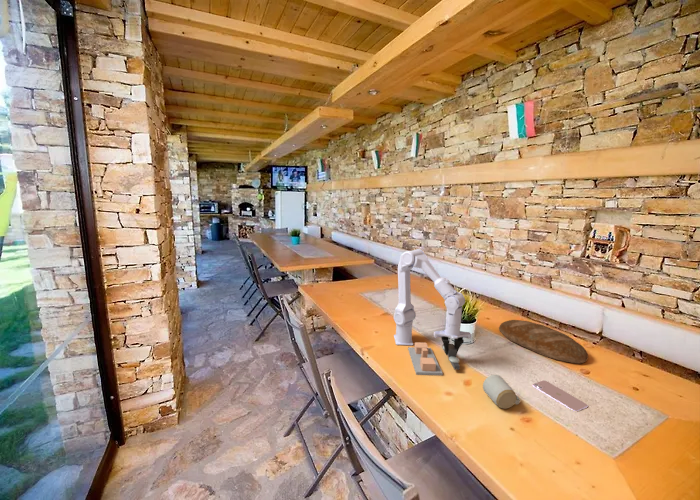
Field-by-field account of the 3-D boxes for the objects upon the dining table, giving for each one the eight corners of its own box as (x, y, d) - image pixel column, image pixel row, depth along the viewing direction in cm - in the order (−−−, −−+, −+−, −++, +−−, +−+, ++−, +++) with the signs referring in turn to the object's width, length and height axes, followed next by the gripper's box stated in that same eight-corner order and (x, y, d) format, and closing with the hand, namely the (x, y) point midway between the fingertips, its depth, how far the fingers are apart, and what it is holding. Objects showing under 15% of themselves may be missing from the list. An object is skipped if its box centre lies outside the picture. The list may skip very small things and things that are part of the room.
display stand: (408, 349, 131) (408, 338, 130) (430, 350, 131) (431, 338, 130) (416, 374, 113) (416, 361, 112) (442, 375, 112) (443, 362, 111)
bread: (514, 325, 159) (516, 310, 157) (597, 357, 127) (601, 339, 125) (488, 333, 148) (489, 317, 147) (571, 371, 116) (574, 352, 115)
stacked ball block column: (440, 347, 131) (440, 336, 130) (449, 347, 130) (449, 337, 130) (451, 369, 114) (452, 357, 113) (462, 369, 114) (463, 357, 113)
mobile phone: (575, 411, 93) (530, 383, 107) (575, 413, 93) (530, 386, 107) (590, 404, 96) (544, 379, 110) (589, 407, 96) (544, 381, 110)
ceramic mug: (496, 411, 94) (499, 389, 92) (481, 394, 102) (483, 374, 100) (526, 409, 95) (529, 387, 94) (509, 392, 103) (511, 372, 102)
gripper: (437, 326, 116) (435, 358, 118) (475, 327, 115) (471, 359, 118) (433, 318, 123) (431, 349, 125) (468, 319, 122) (465, 350, 125)
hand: (450, 353), depth 122 cm, fingers closed on stacked ball block column, 3 cm apart
